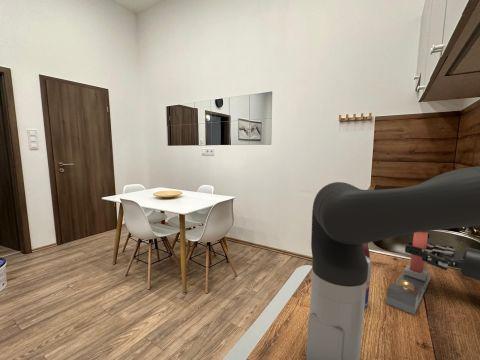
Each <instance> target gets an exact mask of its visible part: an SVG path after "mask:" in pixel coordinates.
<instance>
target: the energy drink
mask: <svg viewBox="0 0 480 360" xmlns="http://www.w3.org/2000/svg"><path fill="white" fill-rule="evenodd" d="M365 257H366V259H367V263H368V277H367V287H366V296H365V307H364V309H366V308H367V307H368V306H369V296H370V287H371V278H372V277H371V276H372V268H373V267H372V266H373V264H372V260H371V259H372V258H371V257H370V258H368V257H367V256H365Z"/></svg>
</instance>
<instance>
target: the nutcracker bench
mask: <svg viewBox="0 0 480 360" xmlns="http://www.w3.org/2000/svg"><path fill="white" fill-rule="evenodd" d="M430 280H431V272H428V275H427V277H426V279H425V281H422V280H419V279H416V278H413V277H410V276H407V275H404V271H403V272H402V273H401V275H400V276H399V278H398V279H397V280H396V282H395V283H393V282H390V283H389V285H388V286H387V291H386V300H385V304H386V305H389V306H391V307H393V308H395V309H398V310H400V311H403V312H404V313H405V312H406V313H407V314H410V315H413V316H415V314H416V311H417V309H418V307H419V306H420V304H421V303H420V302H421V300H422V298H423V297H424V294H425V292H426V289H427V287H428V285H429V283H430Z"/></svg>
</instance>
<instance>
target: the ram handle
mask: <svg viewBox="0 0 480 360" xmlns="http://www.w3.org/2000/svg"><path fill="white" fill-rule="evenodd" d="M429 232H430V231H422V232H416V233H413V238H412V242H413V246H414V247H418V248H421V249H426V245H427V244H428V237H429V236H428V235H429ZM424 267H425V262H424V261H422V258H420V256H417V255H413V254H410V263H408V264H407V265H406V267H405V268H404V270H403V272H404V275H407V276H410V277H413V278H416V279H419V280H422V281H425V279H426V277H427V275H428V273H429V269H426V268H424Z"/></svg>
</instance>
